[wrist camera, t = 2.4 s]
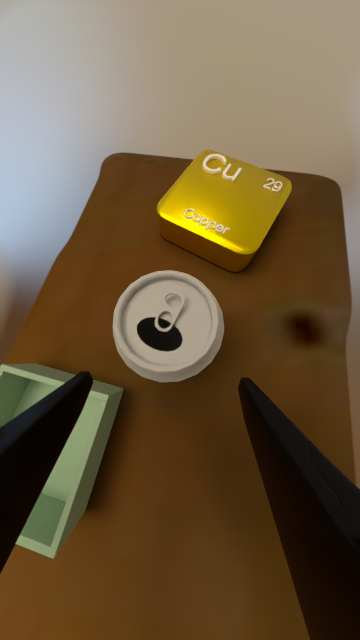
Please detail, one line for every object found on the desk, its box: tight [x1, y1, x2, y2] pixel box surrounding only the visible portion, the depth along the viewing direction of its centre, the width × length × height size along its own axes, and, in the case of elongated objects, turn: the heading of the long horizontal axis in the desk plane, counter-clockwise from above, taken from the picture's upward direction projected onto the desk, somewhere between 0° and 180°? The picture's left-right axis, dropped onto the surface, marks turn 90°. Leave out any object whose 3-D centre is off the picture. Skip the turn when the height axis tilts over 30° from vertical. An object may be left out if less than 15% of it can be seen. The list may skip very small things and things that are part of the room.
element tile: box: [156, 150, 292, 272], centre depth 23 cm, size 15×15×5 cm
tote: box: [0, 364, 124, 559], centre depth 16 cm, size 12×12×4 cm
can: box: [113, 270, 224, 382], centre depth 14 cm, size 8×8×12 cm
